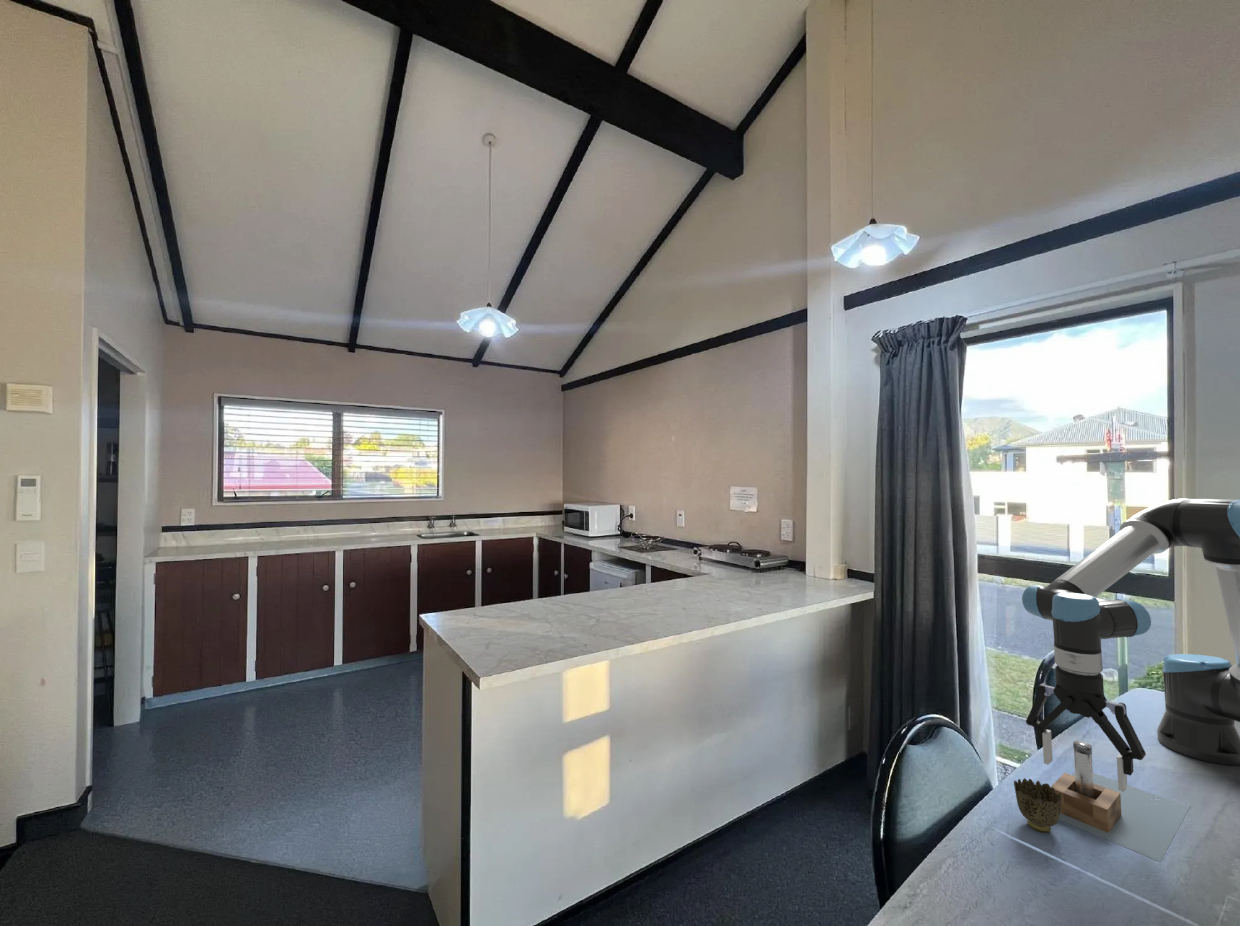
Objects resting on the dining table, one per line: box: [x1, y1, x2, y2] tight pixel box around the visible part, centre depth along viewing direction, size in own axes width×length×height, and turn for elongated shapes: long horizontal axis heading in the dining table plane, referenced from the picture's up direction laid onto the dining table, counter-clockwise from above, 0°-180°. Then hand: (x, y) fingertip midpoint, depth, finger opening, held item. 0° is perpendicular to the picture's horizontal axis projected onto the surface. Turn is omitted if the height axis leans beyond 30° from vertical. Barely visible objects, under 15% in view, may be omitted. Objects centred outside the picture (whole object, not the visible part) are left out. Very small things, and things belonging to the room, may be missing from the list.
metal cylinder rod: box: [1072, 740, 1094, 799], centre depth 107 cm, size 3×3×14 cm
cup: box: [1013, 777, 1062, 834], centre depth 103 cm, size 8×7×8 cm
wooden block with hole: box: [1050, 772, 1121, 833], centre depth 107 cm, size 9×9×4 cm
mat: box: [1058, 771, 1190, 863], centre depth 108 cm, size 26×18×1 cm
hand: (1083, 774), depth 107 cm, fingers open, 11 cm apart
